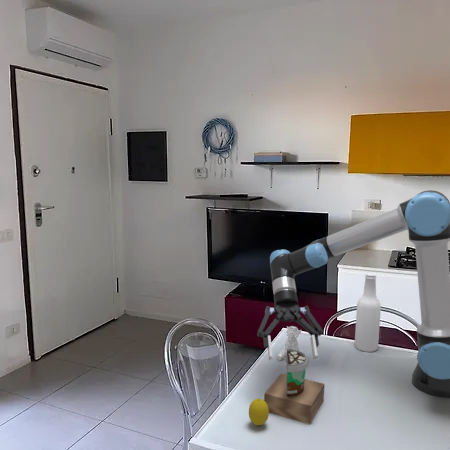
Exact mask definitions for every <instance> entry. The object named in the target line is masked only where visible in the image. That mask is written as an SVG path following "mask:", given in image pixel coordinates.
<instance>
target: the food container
mask: <svg viewBox="0 0 450 450" xmlns="http://www.w3.org/2000/svg"><path fill="white" fill-rule="evenodd" d="M308 366H309V361H308V357H307V356H306V354H305V353H304V352H303V351H301V350H300V351H298V350H295V349H287V360H286V375H287V376H286V382H287V396H295V395H299V394H301V393H302V392H303V390H304V380H305V379H306V369H307V368H308Z"/></svg>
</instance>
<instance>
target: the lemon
mask: <svg viewBox="0 0 450 450" xmlns="http://www.w3.org/2000/svg"><path fill="white" fill-rule="evenodd" d="M269 414H270V413H269V409H268V405H267V403H266V402H265V401H264V399H262V398H259V397H258V398H255V399H253V400H252V401H251V403H250V404H249V408H248V417H249V420H250V422H252V423H253V424H254V425H255V426H256V425H257V426H261V425H264V424H265V423H267V422H268V419H269V416H270V415H269Z"/></svg>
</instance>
